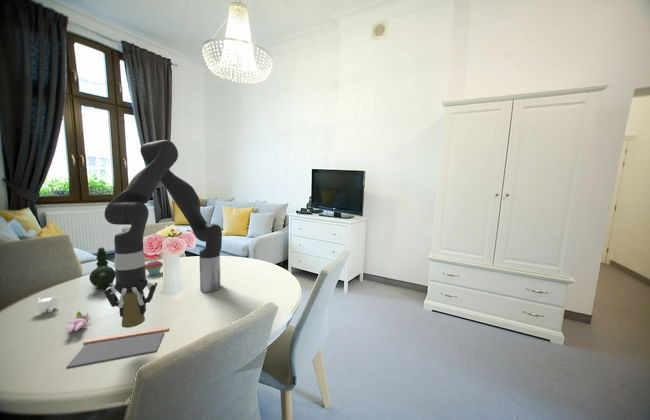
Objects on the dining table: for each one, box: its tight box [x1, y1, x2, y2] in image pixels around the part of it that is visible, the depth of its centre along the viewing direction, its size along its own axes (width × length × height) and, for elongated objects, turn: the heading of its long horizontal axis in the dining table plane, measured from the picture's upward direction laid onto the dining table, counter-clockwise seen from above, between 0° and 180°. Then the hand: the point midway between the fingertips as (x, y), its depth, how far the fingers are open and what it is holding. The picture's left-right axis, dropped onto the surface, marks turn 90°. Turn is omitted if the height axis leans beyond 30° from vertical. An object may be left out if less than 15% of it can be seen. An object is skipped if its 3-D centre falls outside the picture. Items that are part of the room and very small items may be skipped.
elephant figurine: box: [34, 296, 60, 314], centre depth 99 cm, size 7×8×6 cm
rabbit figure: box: [66, 310, 92, 333], centre depth 89 cm, size 6×6×15 cm
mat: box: [66, 331, 165, 369], centre depth 80 cm, size 22×10×1 cm, turn 111°
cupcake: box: [145, 256, 164, 276], centre depth 140 cm, size 9×8×12 cm
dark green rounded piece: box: [88, 247, 116, 291], centre depth 123 cm, size 9×19×25 cm
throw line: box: [82, 326, 170, 345], centre depth 86 cm, size 24×2×1 cm, turn 111°
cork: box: [121, 291, 146, 329], centre depth 79 cm, size 6×6×11 cm
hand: (133, 315), depth 80 cm, fingers closed on cork, 4 cm apart
